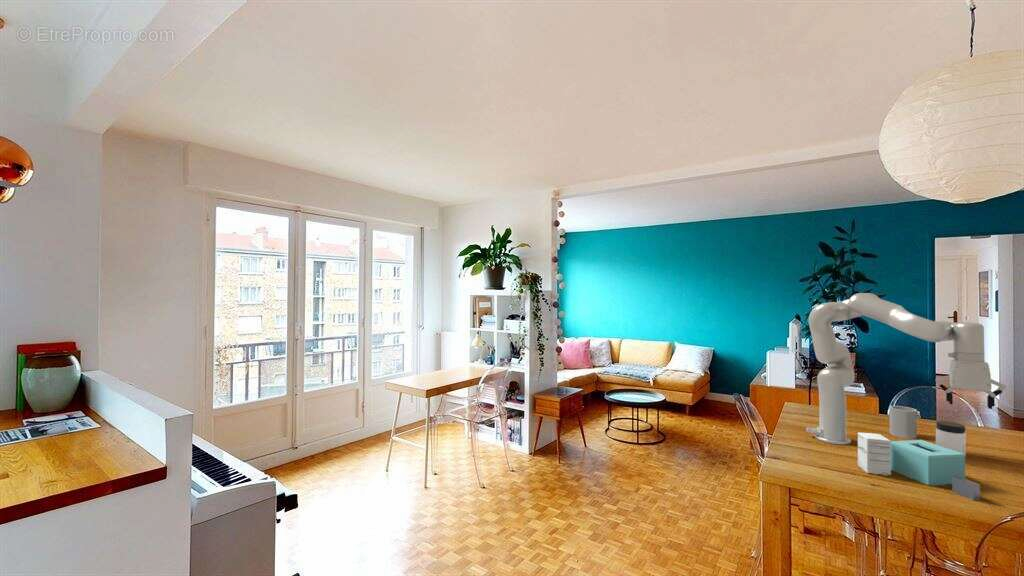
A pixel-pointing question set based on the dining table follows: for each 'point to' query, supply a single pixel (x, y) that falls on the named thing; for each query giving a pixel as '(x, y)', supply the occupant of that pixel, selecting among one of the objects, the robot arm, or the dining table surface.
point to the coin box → (927, 461)
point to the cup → (903, 422)
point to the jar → (951, 436)
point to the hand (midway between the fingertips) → (969, 405)
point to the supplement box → (874, 453)
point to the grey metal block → (966, 488)
